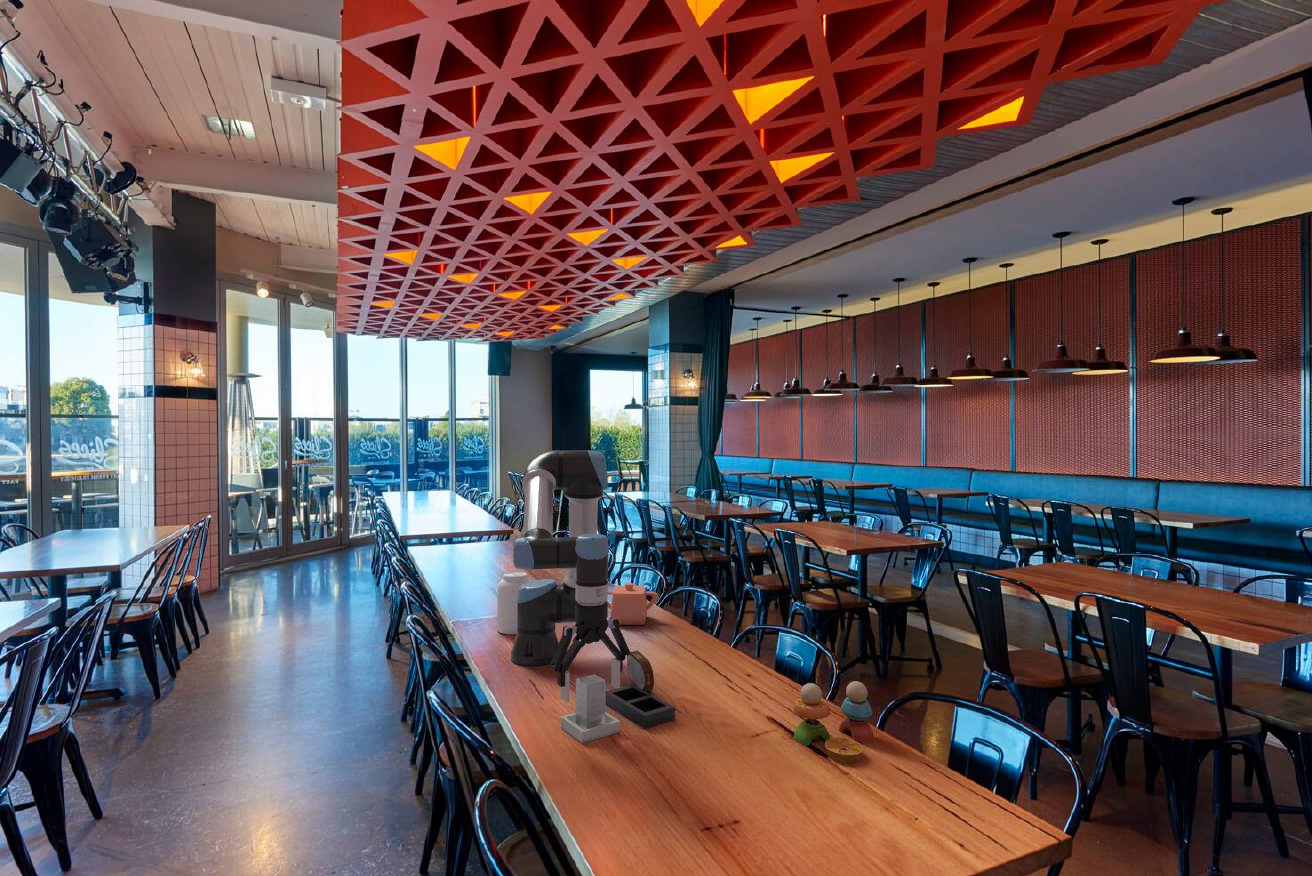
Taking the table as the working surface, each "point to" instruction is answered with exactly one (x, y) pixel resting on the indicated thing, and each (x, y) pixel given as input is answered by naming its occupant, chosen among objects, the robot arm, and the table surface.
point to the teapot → (630, 604)
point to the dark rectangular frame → (640, 706)
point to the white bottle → (509, 601)
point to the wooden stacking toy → (856, 712)
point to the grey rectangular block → (590, 701)
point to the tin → (640, 670)
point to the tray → (592, 733)
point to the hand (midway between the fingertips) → (590, 693)
